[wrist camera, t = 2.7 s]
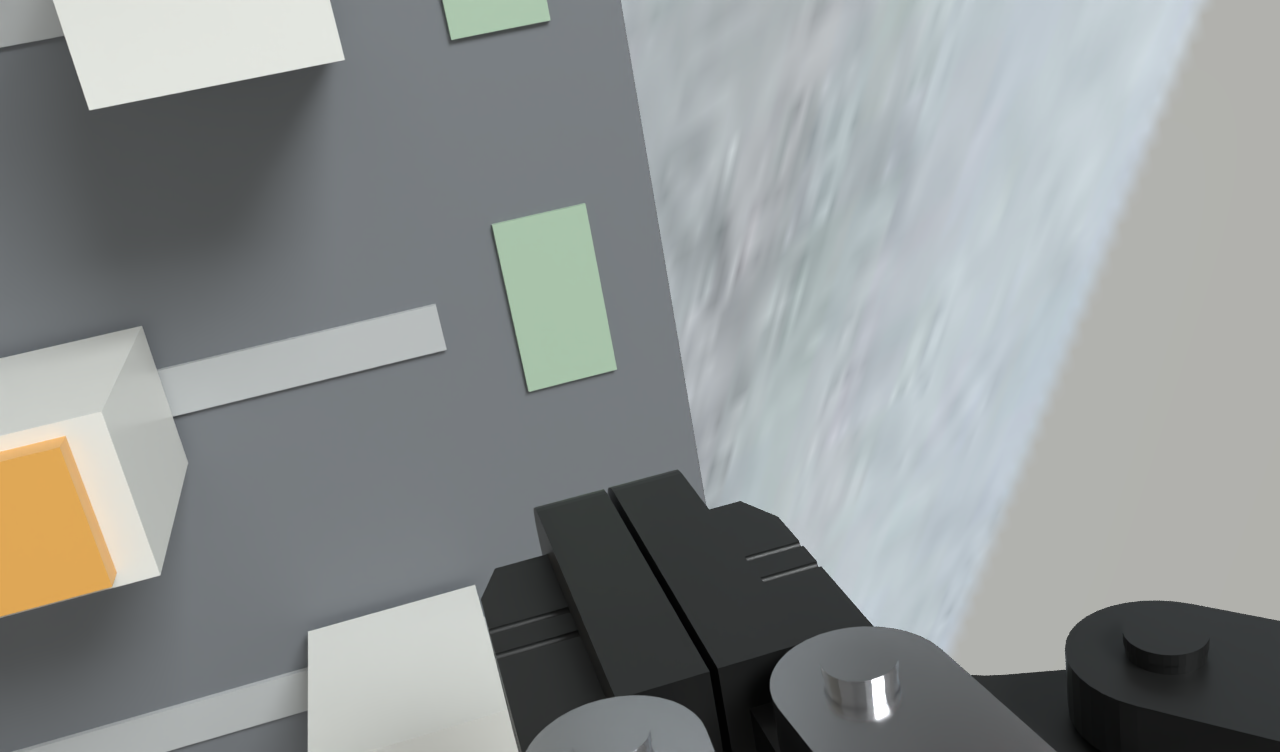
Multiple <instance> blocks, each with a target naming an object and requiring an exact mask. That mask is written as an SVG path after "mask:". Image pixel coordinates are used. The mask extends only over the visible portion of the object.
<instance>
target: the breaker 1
mask: <svg viewBox="0 0 1280 752" xmlns="http://www.w3.org/2000/svg"><path fill="white" fill-rule="evenodd" d="M53 2H54V5H55V8H56V11H57V14H58V17H59V20H60V23H61V26H62V29H63V32H64V35H65V39H66V42H67V45H68V48H69V51H70V54H71V57H72V60H73V63H74V66H75V69H76V72H77V75H78V78H79V81H80V84H81V87H82V90H83V93H84V96H85V99H86V102H87V105H88V108H89V110H94V109H99V108H104V107H109V106H114V105H119V104H124V103H129V102H134V101H139V100H145V99H150V98H155V97H160V96H165V95H170V94H175V93H180V92H185V91H190V90H195V89H200V88H205V87H210V86H215V85H220V84H226V83H231V82H236V81H241V80H246V79H251V78H256V77H261V76H266V75H271V74H276V73H281V72H286V71H291V70H296V69H301V68H307V67H312V66H317V65H322V64H327V63H332V62H337V61H342V60H345V58H344V54H343V50H342V46H341V42H340V38H339V34H338V30H337V26H336V22H335V18H334V14H333V10H332V6H331V3H330V0H53Z"/></svg>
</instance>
